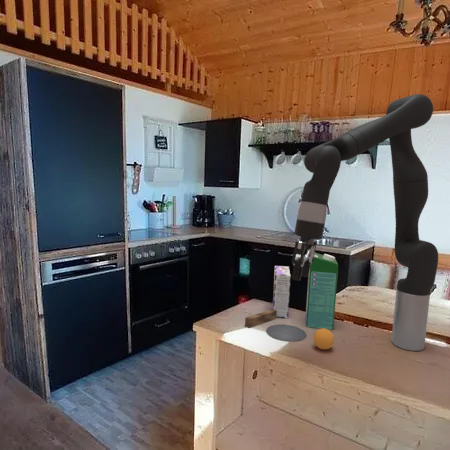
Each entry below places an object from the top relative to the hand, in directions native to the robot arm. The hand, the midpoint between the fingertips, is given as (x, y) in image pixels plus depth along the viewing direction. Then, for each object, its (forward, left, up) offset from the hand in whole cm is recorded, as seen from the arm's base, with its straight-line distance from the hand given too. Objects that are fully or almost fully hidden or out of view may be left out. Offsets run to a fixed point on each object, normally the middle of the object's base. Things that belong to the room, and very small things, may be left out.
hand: (300, 278), depth 98 cm
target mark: (-12, -12, -23) cm, 28 cm away
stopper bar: (-12, -23, -23) cm, 35 cm away
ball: (-12, +2, -20) cm, 23 cm away
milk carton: (-28, -10, -23) cm, 37 cm away
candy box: (-26, -26, -23) cm, 43 cm away
